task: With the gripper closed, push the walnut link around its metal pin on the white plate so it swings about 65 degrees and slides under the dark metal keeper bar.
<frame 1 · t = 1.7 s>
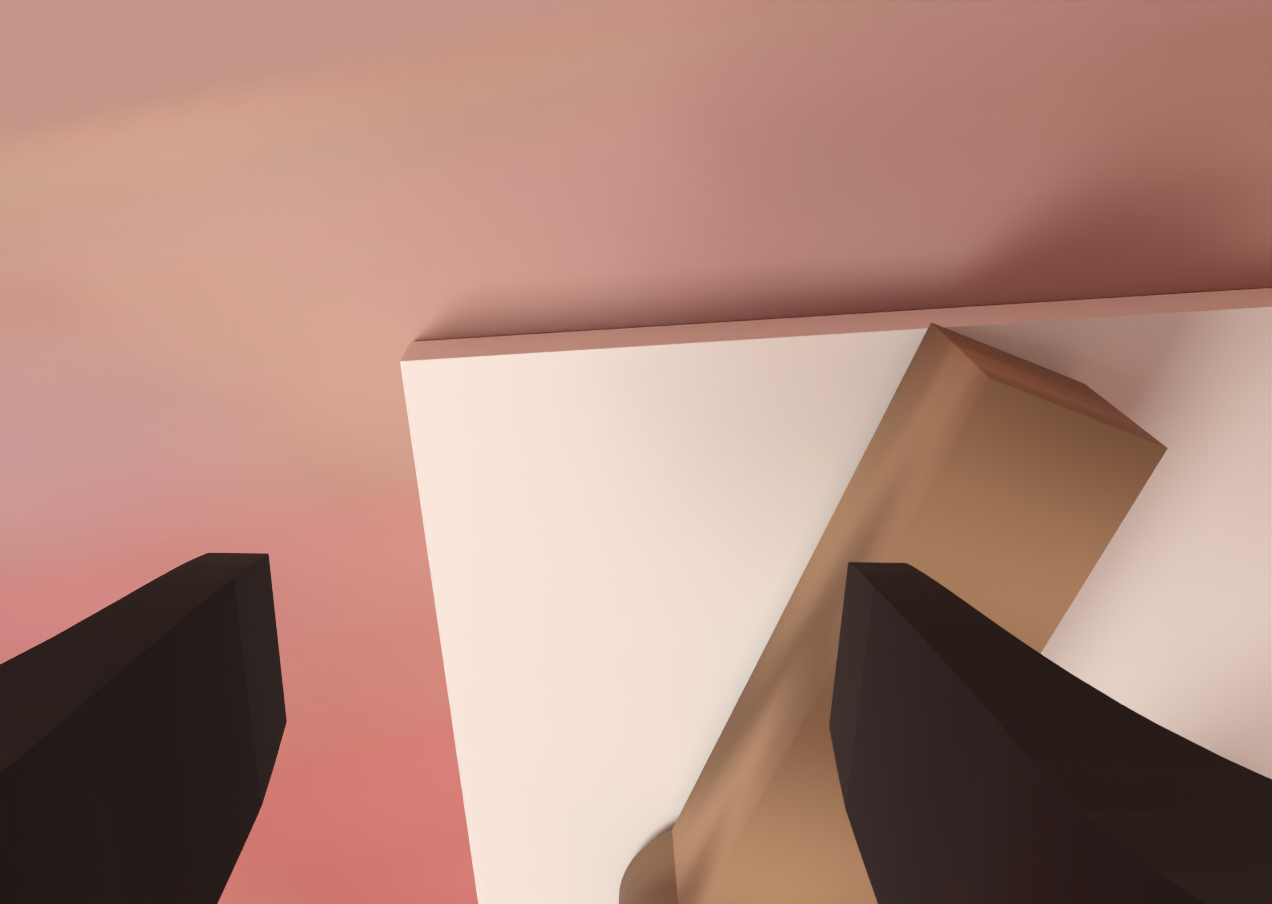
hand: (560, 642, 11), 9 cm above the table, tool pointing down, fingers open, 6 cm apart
white plate: (1009, 695, 23), on the table
walnut link: (838, 742, 20), point 3 cm above the table, hinge at -25.0°
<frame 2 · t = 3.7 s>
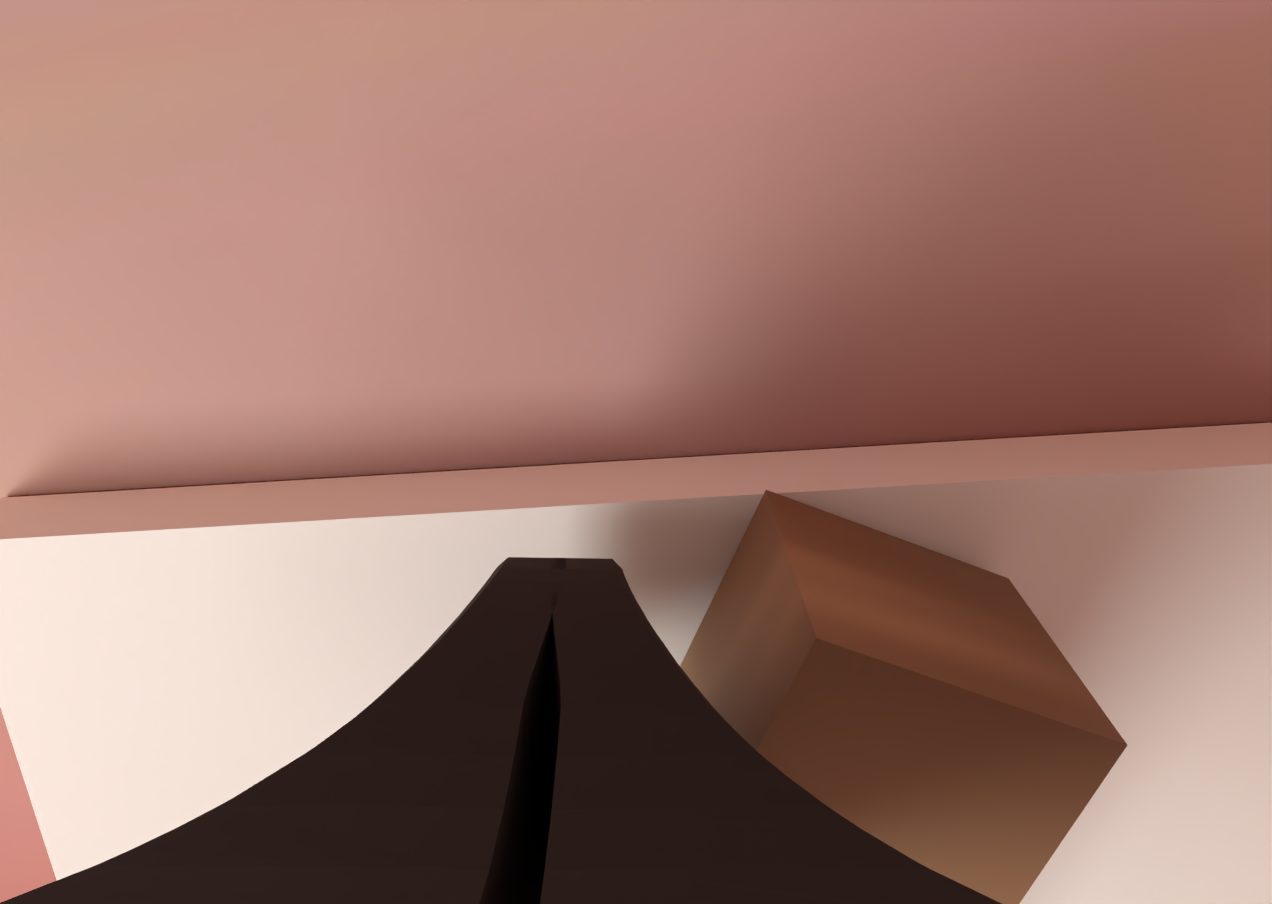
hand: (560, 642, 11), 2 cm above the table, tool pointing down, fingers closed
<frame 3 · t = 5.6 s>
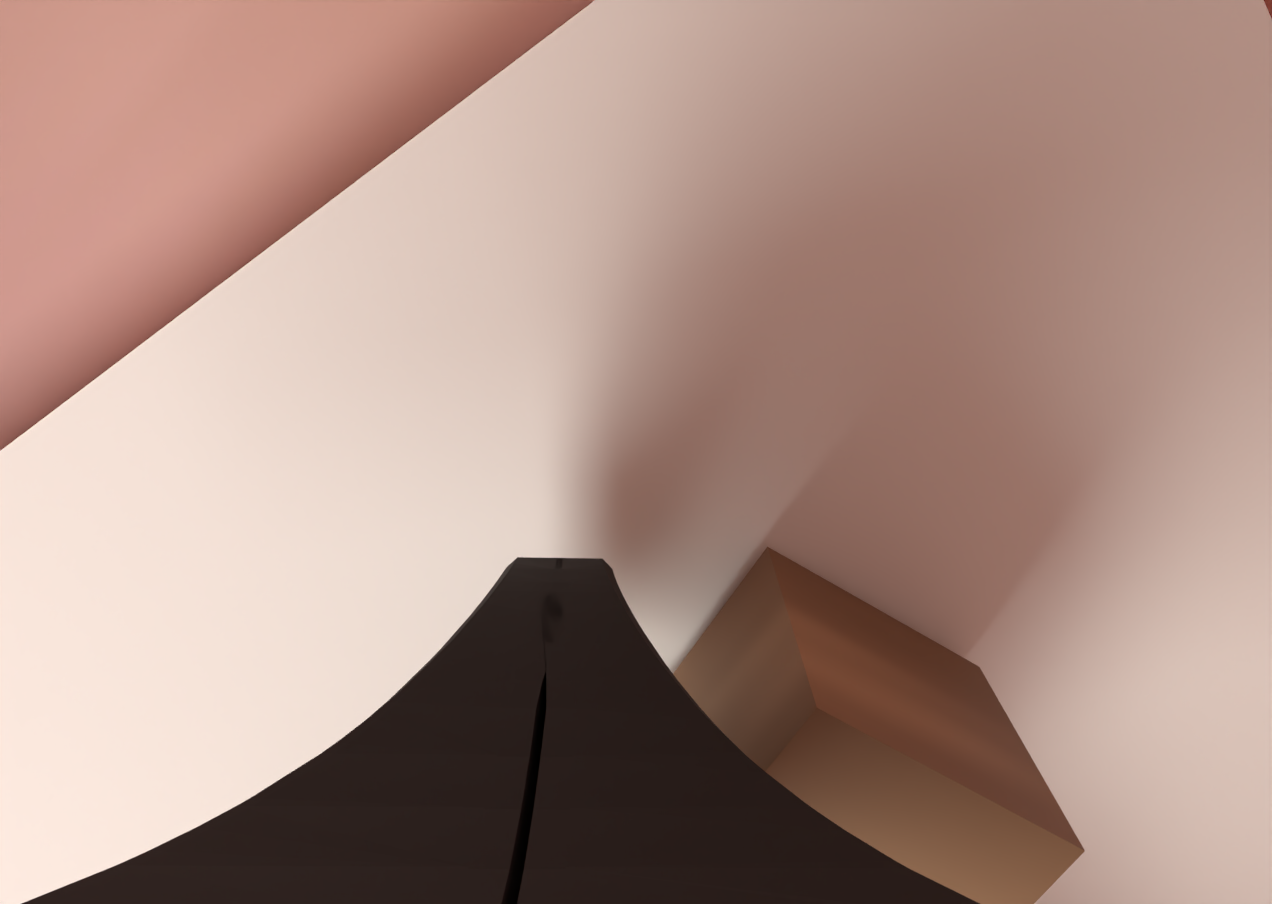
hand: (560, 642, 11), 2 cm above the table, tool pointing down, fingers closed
white plate: (582, 821, 15), on the table
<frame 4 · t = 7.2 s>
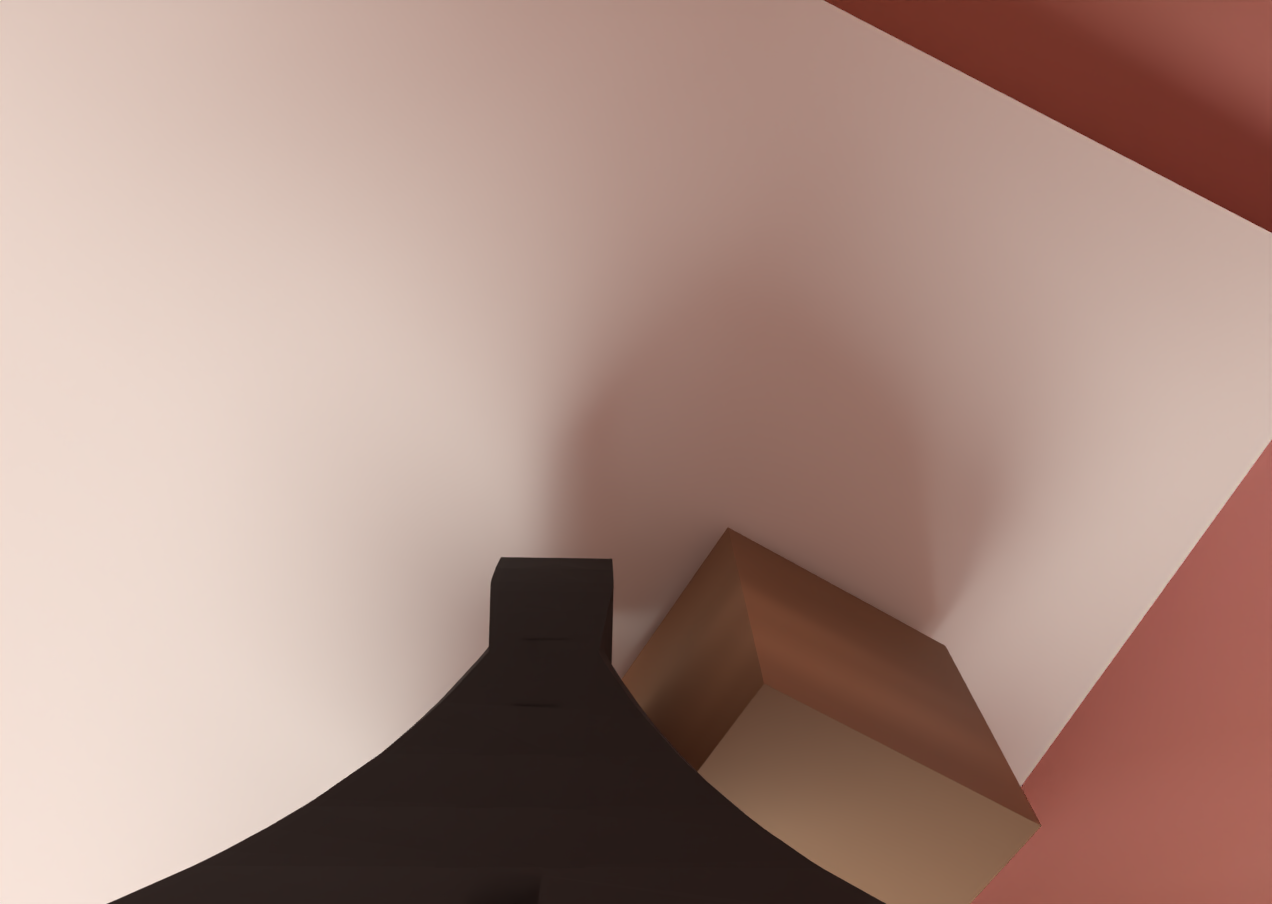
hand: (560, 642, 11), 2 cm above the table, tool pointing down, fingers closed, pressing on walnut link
white plate: (285, 769, 15), on the table
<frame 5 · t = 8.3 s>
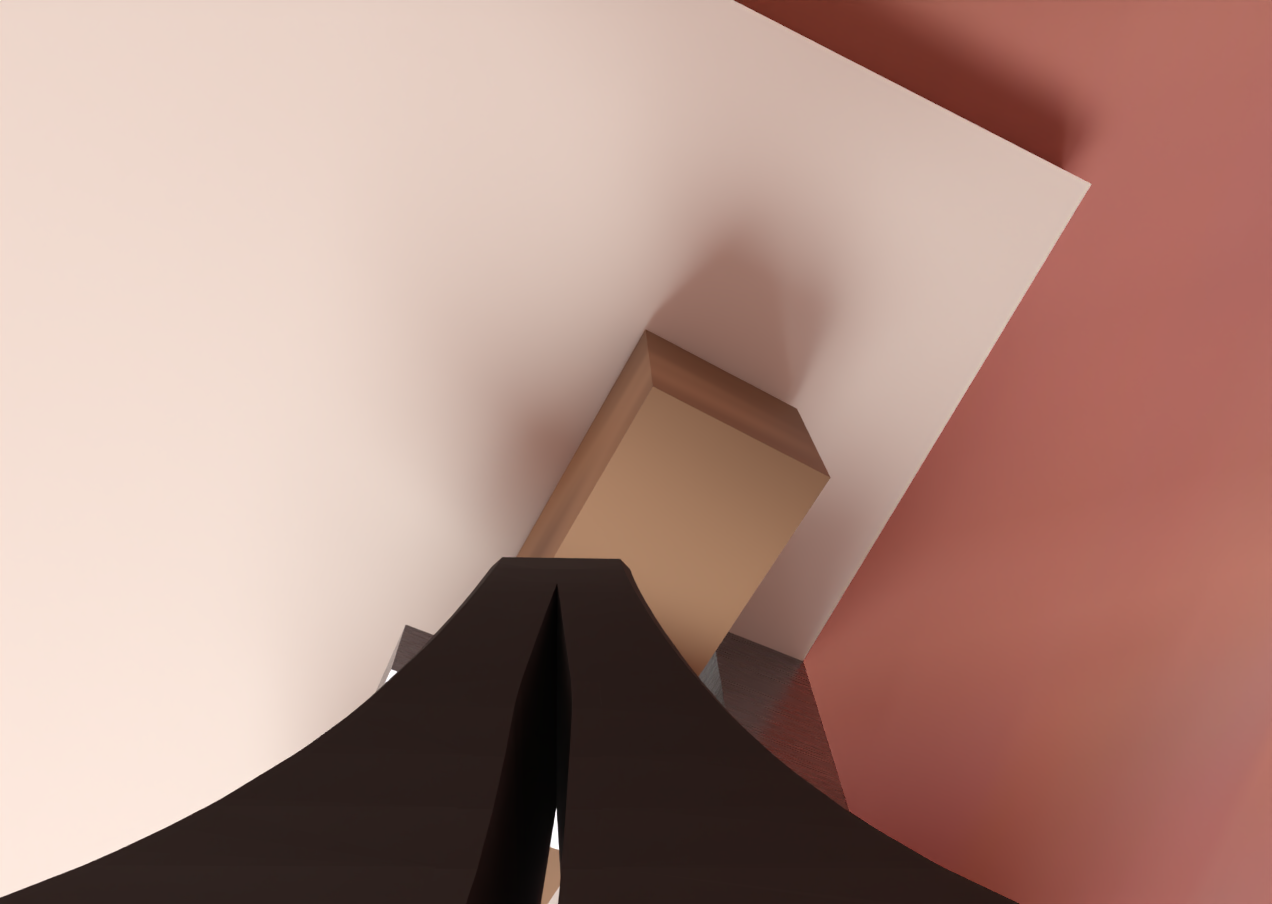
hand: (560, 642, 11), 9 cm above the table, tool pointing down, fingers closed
metal keeper: (727, 649, 22), resting on white plate
white plate: (372, 535, 21), on the table
walnut link: (522, 742, 19), point 3 cm above the table, hinge at -93.8°
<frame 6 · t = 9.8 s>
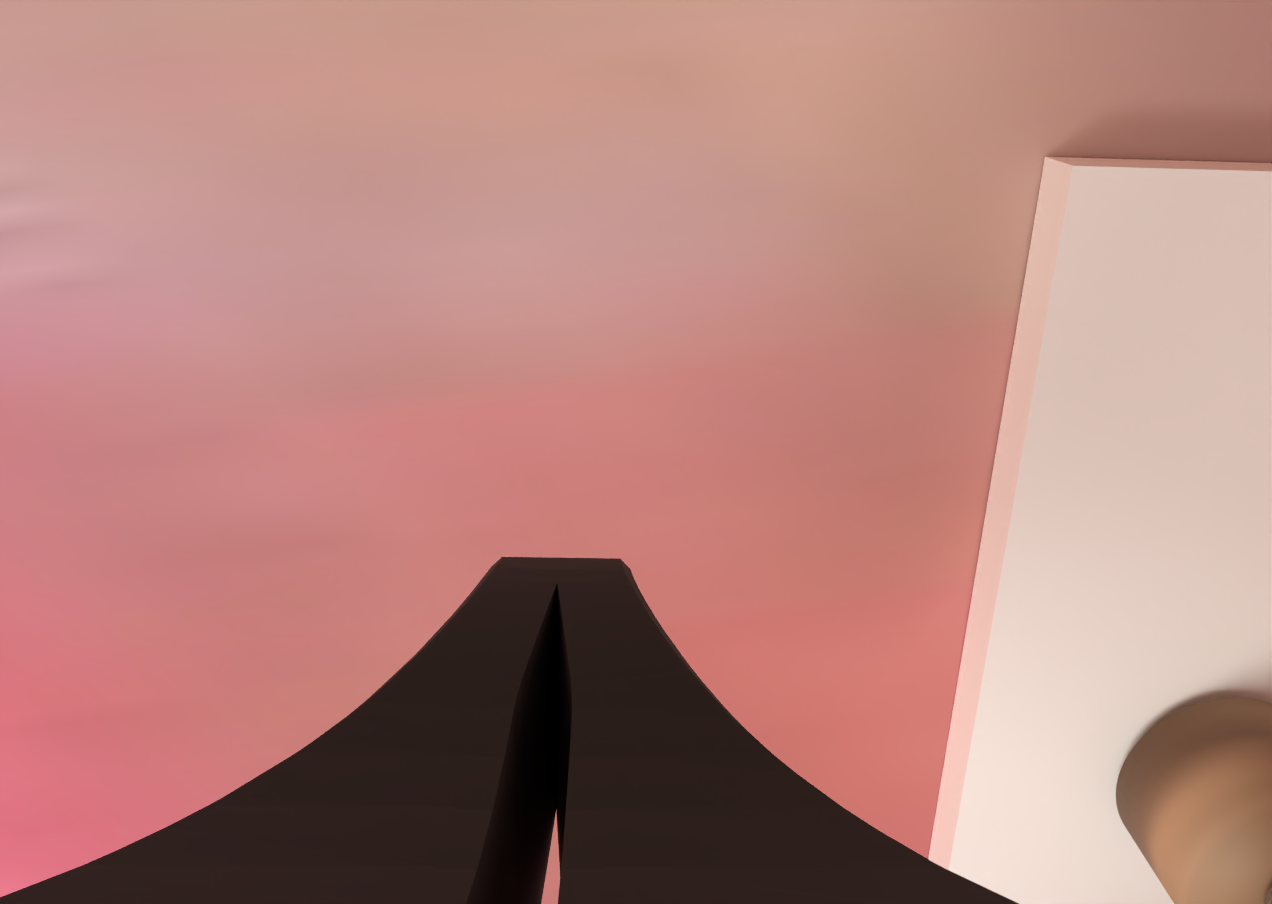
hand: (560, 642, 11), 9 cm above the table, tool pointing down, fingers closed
metal pin: (1178, 734, 24), resting on white plate
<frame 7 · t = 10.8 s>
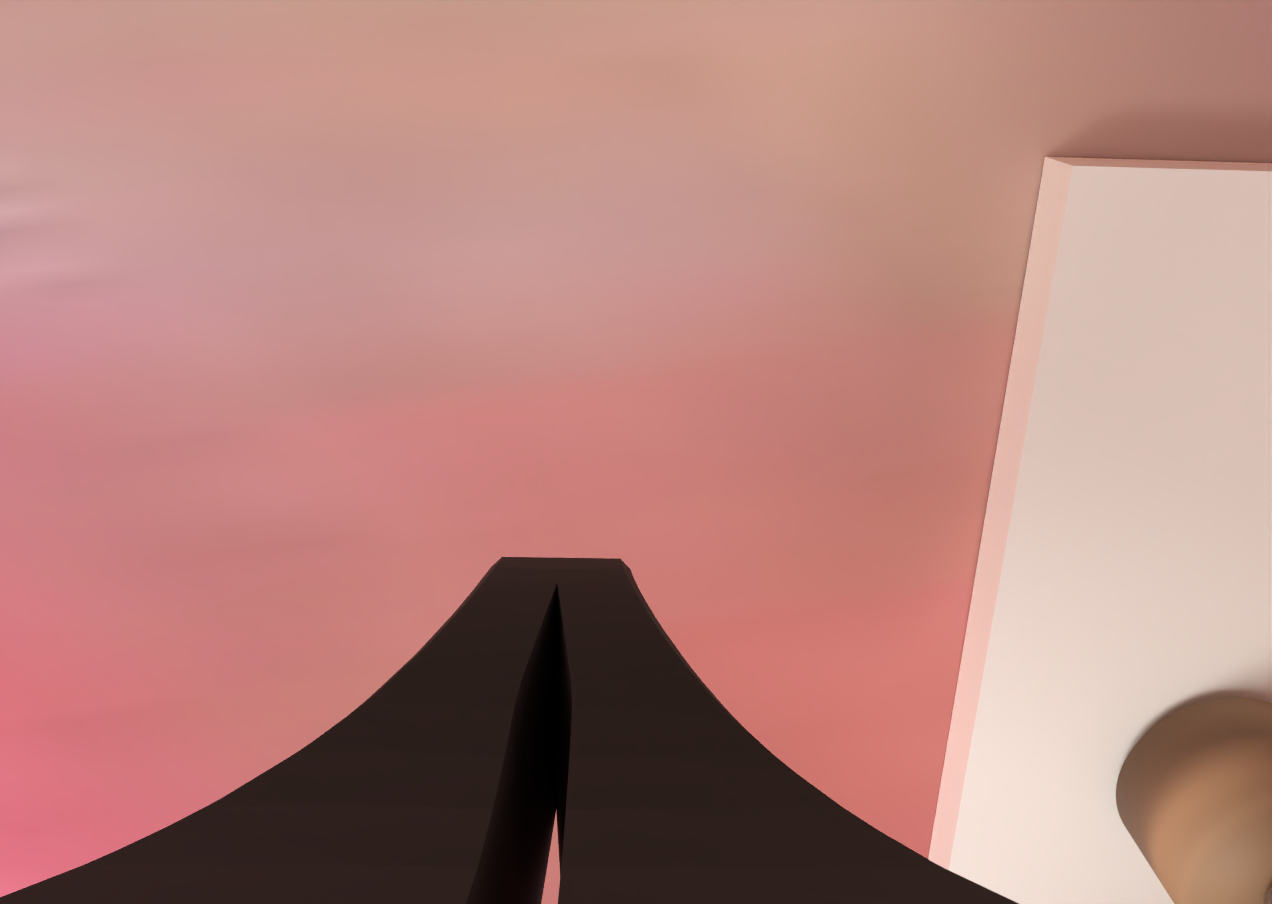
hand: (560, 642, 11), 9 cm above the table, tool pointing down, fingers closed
metal pin: (1178, 734, 24), resting on white plate
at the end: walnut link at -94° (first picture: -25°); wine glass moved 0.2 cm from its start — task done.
